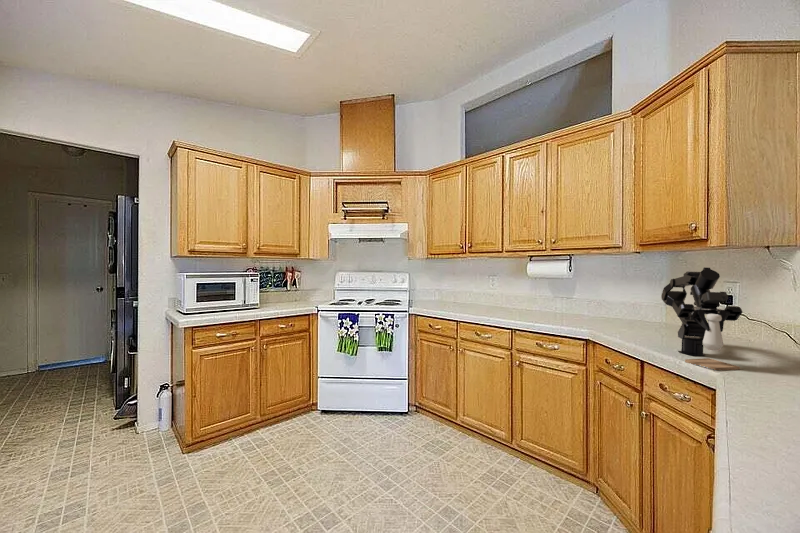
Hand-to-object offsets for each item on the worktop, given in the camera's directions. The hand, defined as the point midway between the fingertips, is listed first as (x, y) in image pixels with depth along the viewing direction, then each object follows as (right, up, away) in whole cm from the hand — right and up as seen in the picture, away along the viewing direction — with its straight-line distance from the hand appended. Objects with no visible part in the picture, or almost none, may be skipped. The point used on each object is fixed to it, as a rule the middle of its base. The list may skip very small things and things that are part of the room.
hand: (715, 330), depth 135 cm
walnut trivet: (0, -13, +2) cm, 13 cm away
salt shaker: (0, -7, +1) cm, 7 cm away
